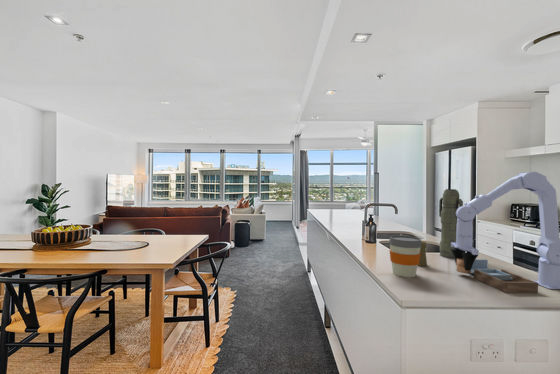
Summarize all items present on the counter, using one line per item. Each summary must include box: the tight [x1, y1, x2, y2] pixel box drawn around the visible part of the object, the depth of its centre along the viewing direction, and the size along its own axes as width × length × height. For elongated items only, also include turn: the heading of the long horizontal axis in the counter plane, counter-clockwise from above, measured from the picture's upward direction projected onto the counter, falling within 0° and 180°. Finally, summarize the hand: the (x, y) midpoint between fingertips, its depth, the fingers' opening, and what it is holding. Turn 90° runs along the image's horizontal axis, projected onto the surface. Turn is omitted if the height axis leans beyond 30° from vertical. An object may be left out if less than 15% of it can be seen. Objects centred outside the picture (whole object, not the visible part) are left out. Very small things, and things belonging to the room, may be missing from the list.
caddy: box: [473, 269, 539, 294], centre depth 114 cm, size 16×12×4 cm
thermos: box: [438, 188, 464, 259], centre depth 157 cm, size 9×12×35 cm
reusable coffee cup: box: [388, 234, 422, 278], centre depth 125 cm, size 13×13×15 cm
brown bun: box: [455, 258, 472, 274], centre depth 125 cm, size 5×5×5 cm
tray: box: [471, 258, 513, 280], centre depth 123 cm, size 14×10×4 cm
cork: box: [417, 240, 428, 267], centre depth 140 cm, size 6×6×11 cm
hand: (463, 268), depth 125 cm, fingers closed on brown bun, 5 cm apart
